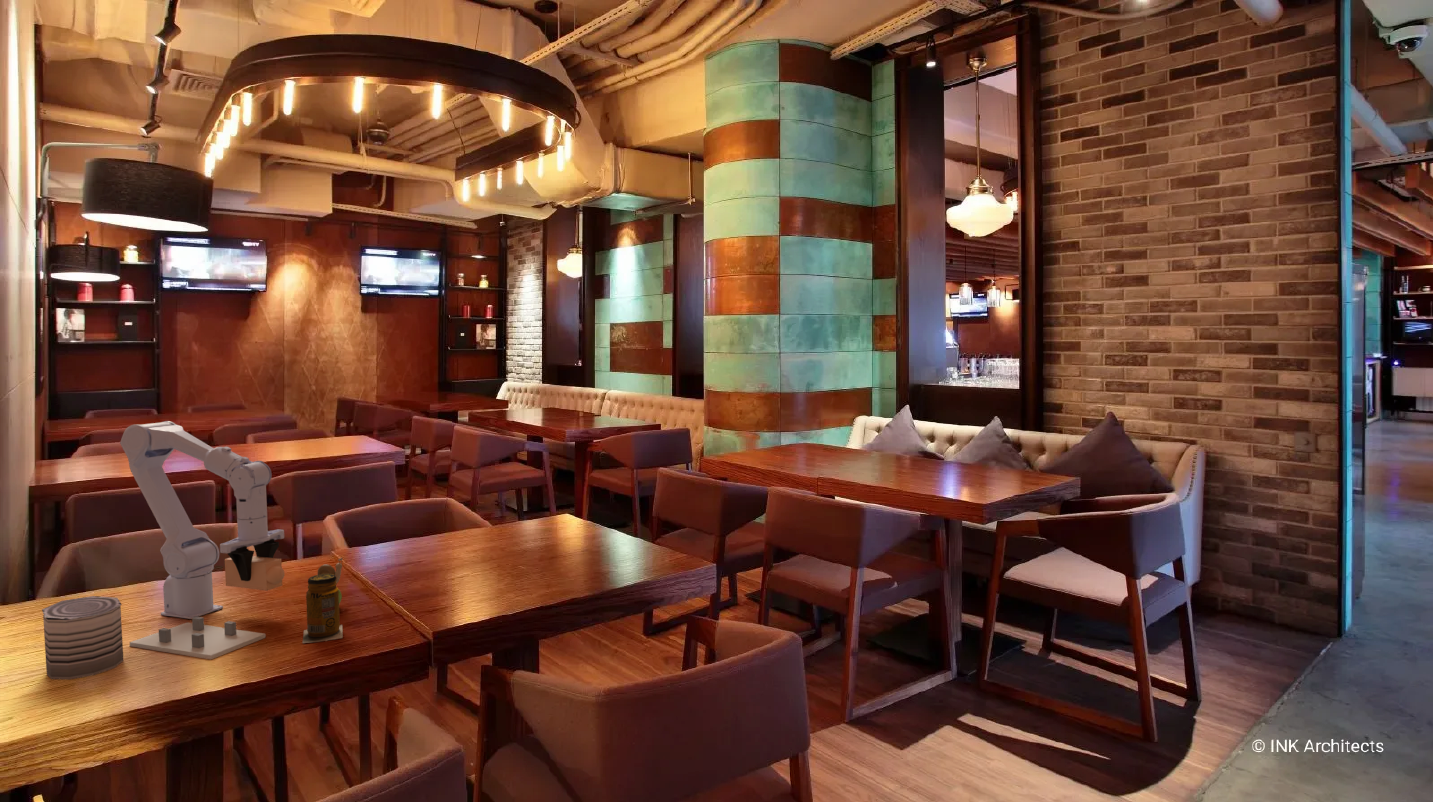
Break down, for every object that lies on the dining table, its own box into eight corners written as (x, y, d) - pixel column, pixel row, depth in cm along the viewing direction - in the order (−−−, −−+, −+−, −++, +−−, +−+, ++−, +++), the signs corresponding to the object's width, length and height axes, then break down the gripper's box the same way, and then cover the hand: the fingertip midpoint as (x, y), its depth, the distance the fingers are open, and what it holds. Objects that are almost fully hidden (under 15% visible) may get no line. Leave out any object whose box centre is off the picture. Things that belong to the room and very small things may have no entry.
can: (114, 650, 154) (111, 591, 153) (132, 665, 147) (128, 602, 146) (39, 669, 145) (35, 605, 145) (53, 685, 138) (49, 618, 137)
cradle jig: (129, 645, 157) (128, 629, 156) (187, 625, 168) (186, 610, 168) (210, 659, 149) (210, 642, 149) (265, 637, 161) (264, 621, 161)
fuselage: (225, 585, 175) (224, 559, 174) (241, 580, 178) (240, 554, 178) (273, 591, 170) (272, 564, 170) (289, 586, 174) (288, 559, 173)
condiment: (342, 625, 168) (340, 570, 167) (342, 638, 160) (340, 580, 159) (303, 631, 165) (301, 574, 164) (302, 644, 157) (300, 585, 156)
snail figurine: (335, 614, 175) (333, 561, 174) (309, 612, 176) (307, 560, 175) (351, 606, 180) (349, 555, 179) (326, 604, 181) (324, 553, 181)
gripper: (236, 525, 165) (239, 588, 166) (293, 511, 179) (295, 570, 180) (211, 522, 168) (214, 585, 168) (270, 509, 181) (272, 567, 182)
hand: (254, 577), depth 174 cm, fingers closed on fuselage, 4 cm apart
